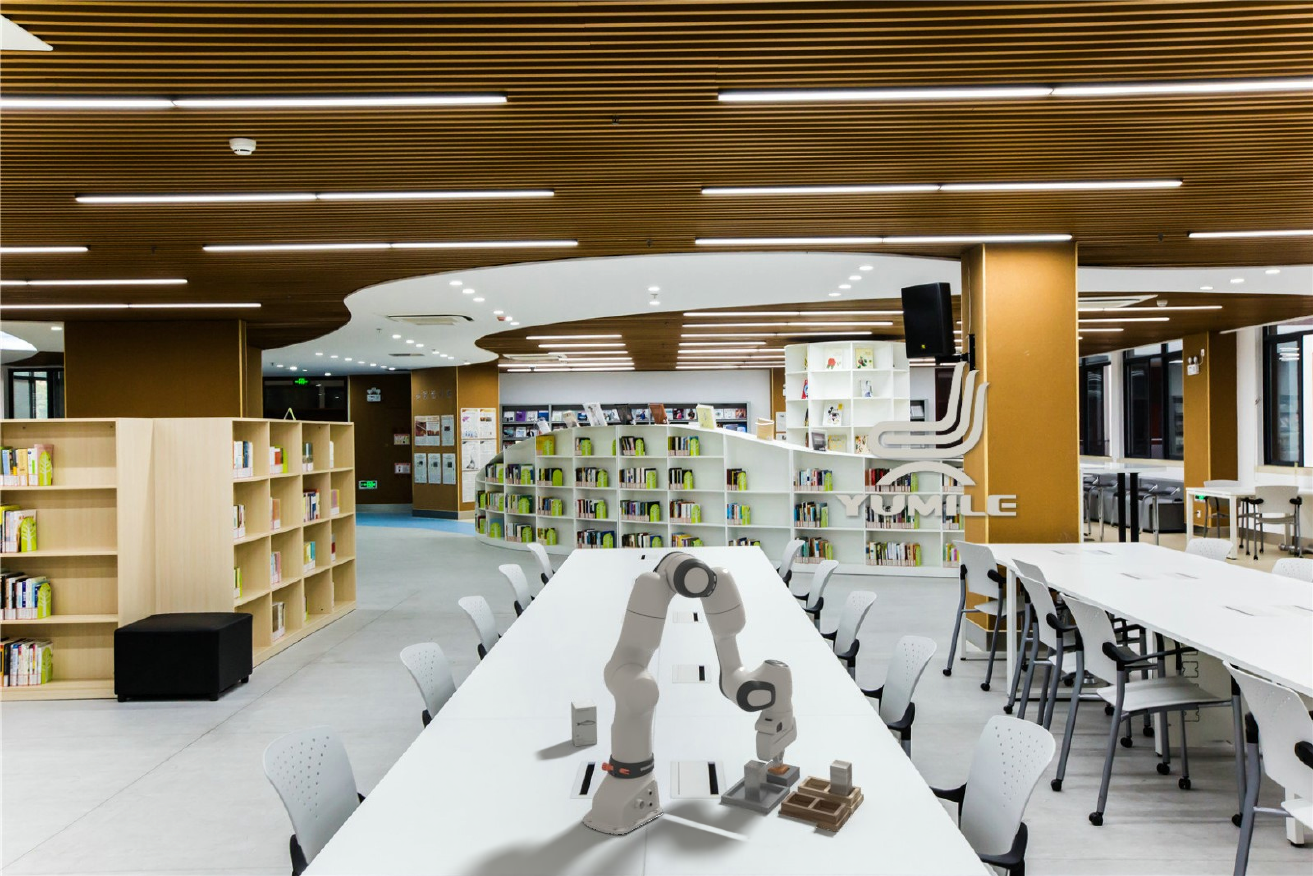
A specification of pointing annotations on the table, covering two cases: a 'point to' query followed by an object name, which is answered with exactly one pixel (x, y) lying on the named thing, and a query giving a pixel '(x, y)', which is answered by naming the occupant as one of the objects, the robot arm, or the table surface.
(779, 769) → the button
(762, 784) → the block
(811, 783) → the tray
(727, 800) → the tray
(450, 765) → the table surface
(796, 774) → the button console
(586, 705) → the supplement box
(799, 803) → the pallet
